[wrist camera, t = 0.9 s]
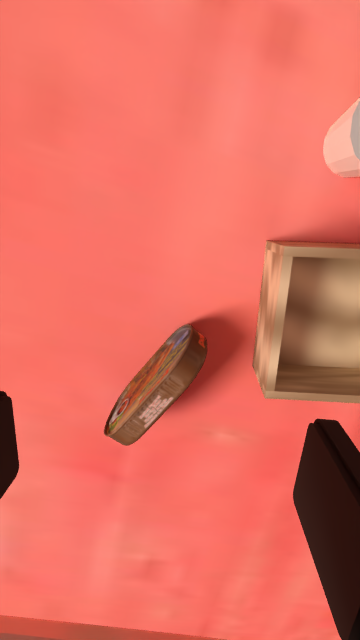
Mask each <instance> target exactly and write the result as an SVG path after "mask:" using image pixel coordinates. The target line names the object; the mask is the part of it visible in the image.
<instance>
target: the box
mask: <svg viewBox="0 0 360 640" xmlns="http://www.w3.org/2000/svg"><path fill="white" fill-rule="evenodd" d="M253 368H254V371H255V374H256V376H257V379H258V382H259V384H260V387H261V389H262V392H263V395H264V397H265V398H269V399H288V400H307V401H325V402H344V403H360V244H353V243H323V242H293V241H266V249H265V258H264V267H263V276H262V285H261V294H260V303H259V312H258V321H257V330H256V339H255V348H254V357H253Z"/></svg>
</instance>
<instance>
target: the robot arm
mask: <svg viewBox="0 0 360 640" xmlns="http://www.w3.org/2000/svg"><path fill="white" fill-rule="evenodd" d="M18 470H19V460H18V451H17V443H16V434H15V425H14V416H13V408H12V400H11V398H10V397H8V396H7V394H6V393H5V392H4V391H0V499H1V497H2V496H3V495H4V493H5V492H6V490H7V489H8V487H9V486H10V485H11V483H12V482H13V480H14V479H15V477H16V475H17V473H18ZM293 499H294V504H295V507H296V510H297V513H298V516H299V519H300V522H301V525H302V528H303V531H304V534H305V536H306V539H307V542H308V545H309V548H310V551H311V554H312V557H313V560H314V563H315V566H316V569H317V572H318V574H319V577H320V580H321V583H322V586H323V589H324V592H325V595H326V598H327V601H328V604H329V607H330V610H331V613H332V615H333V618H334V621H335V624H336V627H337V630H338V633H339V635H340V637H341V639H342V640H360V452H359V451H358V449H357V448H356V446H355V445H354V444H353V442H352V441H351V439H350V438H349V436H348V435H347V434H346V432H345V431H344V429H343V428H342V426H341V425H340V423H339V422H338V421H336V420H326V419H316V420H315V422H314V423H310V424H309V426H308V429H307V434H306V438H305V443H304V447H303V451H302V456H301V460H300V464H299V469H298V473H297V477H296V482H295V486H294V491H293ZM0 640H225V639H217V638H208V637H199V636H190V635H182V634H173V633H163V632H154V631H145V630H136V629H126V628H117V627H108V626H99V625H89V624H80V623H70V622H61V621H52V620H42V619H33V618H23V617H13V616H3V615H0Z"/></svg>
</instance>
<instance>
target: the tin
mask: <svg viewBox="0 0 360 640" xmlns="http://www.w3.org/2000/svg"><path fill="white" fill-rule="evenodd" d="M206 355H207V340H206V338H205V337H204V336H203V335H202V334H200V333H199V332H198V331H196V330H195V329H194V328H193V327H192V326H191V325H190V324H186V325H184V326H182V327H180V328H179V329H177V330H176V331H175V332H174V333H173V334H172V335H171V336H170V337H169V338H168V339H167V340H166V342H165V343H164V344H163V345H162V346H161V347H160V348H159V350H158V351H157V352H156V353H155V354H154V355H153V357H152V358H151V359H150V360H149V361H148V362H147V363H146V365H145V366H144V367H143V368H142V369H141V370H140V371H139V372H138V374H137V375H136V376H135V377H134V378H133V379H132V381H131V382H130V383H129V384H128V386H127V387H126V388H125V390H124V391H123V392H122V394H121V395H120V397H119V398H118V400H117V402H116V403H115V405H114V407H113V409H112V411H111V413H110V415H109V417H108V419H107V422H106V425H105V429H104V434H105V435H106V436H109V437H111V438H112V439H114V440H116V441H117V442H119V443H121V444H123V445H131V444H133V443H134V442H136V441H137V440H138V439H139V438H141V437H142V435H143V434H144V433H145V432H146V431H147V430H148V429H149V428H150V427H151V426H152V425H153V424H154V423H155V422H156V421H157V420H158V419H159V418H160V417H161V416H162V415H163V413H164V412H165V411H166V410H167V409H168V408H169V407H170V406H171V405H172V404H173V403H174V402H175V401H176V400H177V399H178V397H179V396H180V395H181V394H182V393H183V392H184V391H185V390H186V389H187V388H188V386H189V385H190V384H191V383H192V381H193V380H194V379H195V377H196V376H197V374H198V373H199V371H200V369H201V367H202V365H203V363H204V361H205V358H206Z"/></svg>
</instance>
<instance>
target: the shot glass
mask: <svg viewBox="0 0 360 640" xmlns="http://www.w3.org/2000/svg"><path fill="white" fill-rule="evenodd" d="M323 154H324V158H325V161H326V165H327V166H328V167H329V168H330V169H331V170H332V172H333V173H335V174H337V175H339V176H342V177H360V97H359V98H358V99H357V100H356V101H355V102H354V103H353V104H352V105H351V106H350V107H349V108H348V109H347V110H346V111H345V112H344V113H343V114H342V115H341V116H340V117H339V119H338V120H337V121H336V122H335V123H334V124H333V125H332V126H331V127H330V129H329V131H328V133H327V135H326V137H325V139H324V148H323Z"/></svg>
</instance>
